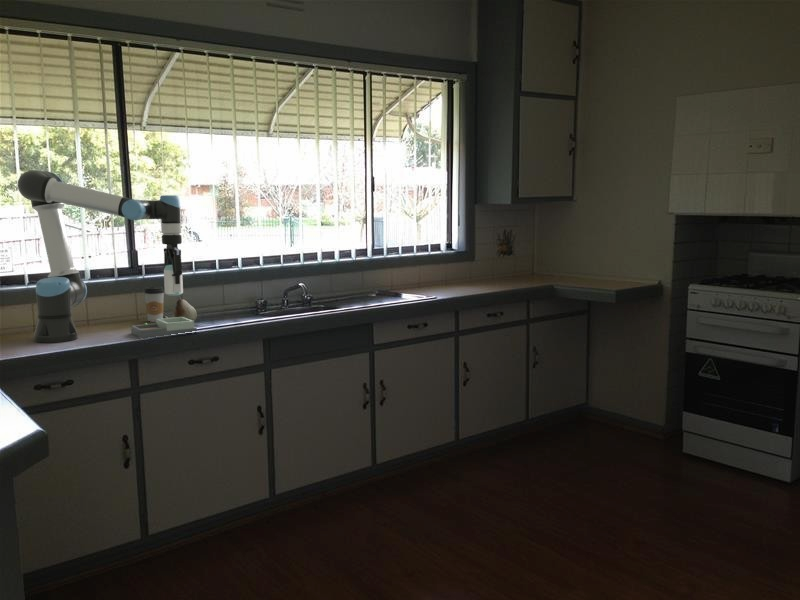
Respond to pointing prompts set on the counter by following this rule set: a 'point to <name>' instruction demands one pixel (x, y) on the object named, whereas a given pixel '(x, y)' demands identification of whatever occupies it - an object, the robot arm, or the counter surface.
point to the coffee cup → (154, 303)
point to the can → (171, 281)
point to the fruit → (184, 310)
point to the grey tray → (164, 327)
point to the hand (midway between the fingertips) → (173, 291)
